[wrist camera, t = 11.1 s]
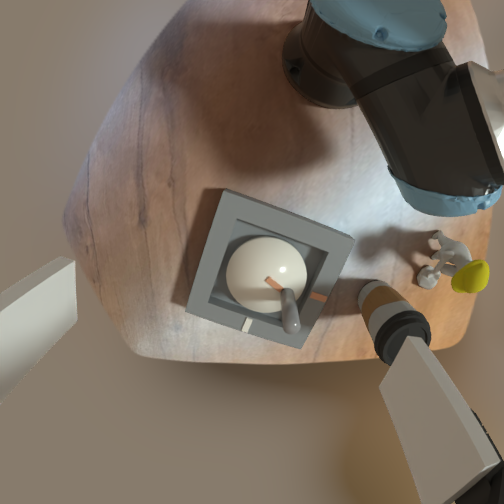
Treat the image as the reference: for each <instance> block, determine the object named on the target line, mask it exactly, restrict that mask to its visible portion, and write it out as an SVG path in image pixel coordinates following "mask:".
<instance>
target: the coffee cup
mask: <svg viewBox="0 0 504 504" xmlns="http://www.w3.org/2000/svg"><path fill="white" fill-rule="evenodd" d="M358 306H359V308H360V311H361V313H362V317H363V319H364V321H365V324H366V326H367V329H368V331H369V333H370V335H371V338H372V340H373V343H374V348H375V351H376V353H377V355H378V356H379V358H380V359H381V360H382V361H383V362H384V363H386V364H388V365H389V366H391V365H392V363H393V362H394V360H395V358H396V356H397V354H398V353H399V351H400V349H401V347H402V345H403V343H404V341H405V339H406V337H407V336H412V337H420V338H422V339H423V341H424V342H425V343H426V345H427V346H428V347H429V345H430V342H431V332H430V326H429V323H428V322H427V320H426V318H425V317H424V315H423V314H421V313H420V312H418V311H416V310H415V309H414V308H413V307H412V306H411V305H410V304H409V302H408V301H407V300H406V299H405V298H403V297H402V296H401V295H400V294H399V293H398V292H397V291H396V290H394V289H393V288H392V287H391V286H389V285H388V284H387V283H385V282H383V281H373V282H370V283H368V284H366V285H365V286H364V287H363V288H362V290H361V291H360V294H359V296H358Z"/></svg>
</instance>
